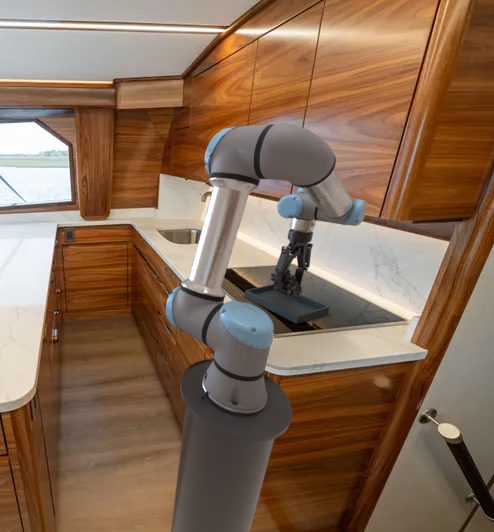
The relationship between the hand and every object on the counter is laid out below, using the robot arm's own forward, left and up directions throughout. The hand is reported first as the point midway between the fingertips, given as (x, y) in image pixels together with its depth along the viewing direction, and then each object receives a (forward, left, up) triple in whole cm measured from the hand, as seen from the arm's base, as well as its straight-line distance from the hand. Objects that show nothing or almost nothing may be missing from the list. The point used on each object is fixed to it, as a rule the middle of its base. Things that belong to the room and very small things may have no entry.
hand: (288, 287), depth 115 cm
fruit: (-1, 0, -2) cm, 3 cm away
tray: (0, 0, -8) cm, 8 cm away
